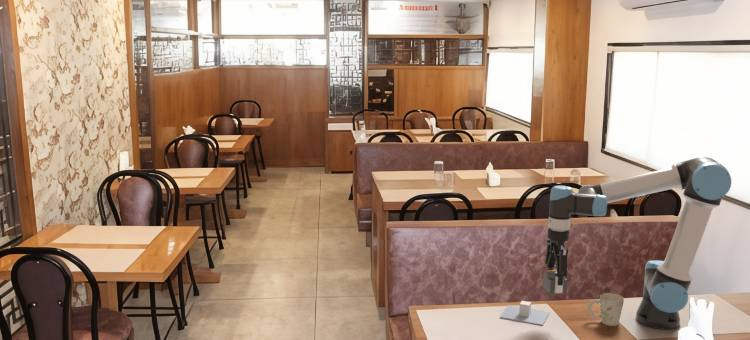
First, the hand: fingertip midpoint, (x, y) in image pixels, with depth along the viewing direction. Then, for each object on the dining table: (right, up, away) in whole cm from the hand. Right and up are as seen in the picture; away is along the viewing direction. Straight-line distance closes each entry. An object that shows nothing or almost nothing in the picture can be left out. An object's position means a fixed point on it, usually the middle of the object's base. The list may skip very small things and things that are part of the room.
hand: (554, 288), depth 242 cm
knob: (0, 0, 0) cm, 0 cm away
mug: (+20, -13, +4) cm, 24 cm away
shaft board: (-9, -12, +9) cm, 17 cm away
